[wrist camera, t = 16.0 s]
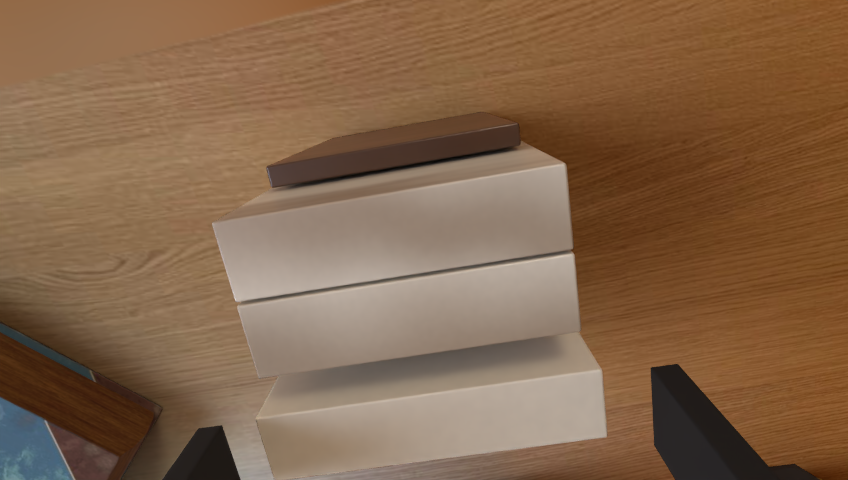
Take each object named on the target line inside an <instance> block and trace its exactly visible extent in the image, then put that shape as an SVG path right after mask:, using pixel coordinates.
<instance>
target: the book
mask: <svg viewBox="0 0 848 480" xmlns="http://www.w3.org/2000/svg"><path fill="white" fill-rule="evenodd" d="M161 410H162V408H161V407H160V406H158V405H157V404H155V403H153V402H151V401H149V400H147V399H145V398H143V397H142V396H140V395H138V394H136V393H134V392H132V391H130V390H128V389H126V388H124V387H123V386H121V385H119V384H117V383H115V382H113V381H111V380H109V379H107V378H106V377H104V376H102V375H100V374H98V373H96V372H94V371H92V370H90V369H88V368H87V367H85V366H83V365H81V364H79V363H77V362H75V361H73V360H71V359H69V358H68V357H66V356H64V355H62V354H60V353H58V352H56V351H54V350H52V349H50V348H49V347H47V346H45V345H43V344H41V343H39V342H37V341H35V340H33V339H31V338H30V337H28V336H26V335H24V334H22V333H20V332H18V331H16V330H14V329H12V328H10V327H8V326H7V325H5V324H3V323H1V322H0V480H121V479H122V477H123V476H124V474H125V472H126V471H127V469H128V467H129V465H130V464H131V462H132V460H133V459H134V457H135V455H136V453H137V452H138V450H139V448H140V447H141V445H142V443H143V441H144V440H145V438H146V436H147V435H148V433H149V431H150V429H151V428H152V426H153V424H154V423H155V421H156V419H157V417H158V415H159V414H160V412H161Z"/></svg>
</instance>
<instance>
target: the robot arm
mask: <svg viewBox="0 0 848 480" xmlns="http://www.w3.org/2000/svg"><path fill="white" fill-rule="evenodd" d="M651 383H652V405H653V427H654V446H655V447H656V449H657V451H658V452H659V454H660V455H661V457H662V459H663V460H664V462H665V464H666V465H667V467H668V468H669V470H670V472H671V473H672V475H673V477H674V478H675V480H820V479H818V478H817V477H815V476H813V475H812V474H810V473H808V472H807V471H805V470H803V469H802V468H800V467H799V466H797V465H795V464H790V465H781V466H773V467H768V465H767V464H766V463H765V462H764V461H763V460H762V459H761V458H760V456H759V455H758V454H757V453H756V452H755V451H754V450H753V448H752V447H751V446H750V445H749V444H748V443H747V442H746V441H745V439H744V438H743V437H742V436H741V435H740V434H739V433H738V432H737V430H736V429H735V428H734V427H733V426H732V425H731V424H730V423H729V421H728V420H727V419H726V418H725V417H724V416H723V415H722V414H721V412H720V411H719V410H718V409H717V408H716V407H715V406H714V404H713V403H712V402H711V401H710V400H709V399H708V398H707V397H706V395H705V394H704V393H703V392H702V391H701V390H700V389H699V388H698V386H697V385H696V384H695V383H694V382H693V381H692V380H691V379H690V377H689V376H688V375H687V374H686V373H685V372H684V371H683V370H682V368H681V367H680V366H679V365H678V364H674V365H666V366H659V367H652V368H651ZM163 480H240V477H239V474H238V471H237V468H236V465H235V462H234V459H233V457H232V454H231V451H230V448H229V445H228V442H227V439H226V436H225V433H224V430H223V427H222V426H214V427H207V428H199V429H198V430H197V431H196V433H195V434H194V436H193V437H192V438H191V440H190V441H189V443H188V444H187V446H186V447H185V448H184V450H183V451H182V453H181V454H180V455H179V457H178V458H177V460H176V461H175V463H174V464H173V465H172V467H171V468H170V470H169V471H168V472H167V474H166V475H165V477H164V478H163Z"/></svg>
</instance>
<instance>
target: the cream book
mask: <svg viewBox="0 0 848 480" xmlns="http://www.w3.org/2000/svg"><path fill="white" fill-rule="evenodd" d="M256 422H257V426H258V429H259V432H260V435H261V438H262V442H263V445H264V448H265V451H266V454H267V457H268V461H269V464H270V467H271V470H272V473H273V477H274V480H289V479H296V478H304V477H311V476H319V475H326V474H334V473H341V472H349V471H356V470H364V469H371V468H379V467H386V466H394V465H401V464H409V463H416V462H424V461H432V460H439V459H447V458H454V457H462V456H469V455H477V454H484V453H492V452H499V451H507V450H514V449H522V448H529V447H537V446H544V445H552V444H559V443H567V442H574V441H582V440H589V439H597V438H604V437H607V423H606V410H605V398H604V385H603V372H602V369H601V367H600V366H599V364H598V362H597V361H596V359H595V358H594V356H593V354H592V353H591V351H590V350H589V348H588V346H587V345H586V343H585V342H584V340H583V338H582V337H581V335H580V334H579V332H575V333H568V334H561V335H554V336H547V337H540V338H534V339H527V340H520V341H513V342H506V343H499V344H493V345H486V346H479V347H472V348H465V349H458V350H452V351H445V352H438V353H431V354H424V355H417V356H411V357H404V358H397V359H390V360H383V361H377V362H370V363H363V364H356V365H349V366H342V367H336V368H329V369H322V370H315V371H308V372H301V373H295V374H288V375H281V376H278V378H277V380H276V382H275V384H274V386H273V387H272V389H271V391H270V393H269V395H268V397H267V398H266V400H265V402H264V404H263V406H262V408H261V410H260V411H259V413H258V415H257V417H256Z"/></svg>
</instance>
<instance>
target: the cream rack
mask: <svg viewBox="0 0 848 480" xmlns="http://www.w3.org/2000/svg"><path fill="white" fill-rule="evenodd" d="M266 169H267V173H268V176H269V180H270V184H271V187H272V188H271V189H270V190H268V191H266V192H264V193H263V194H261V195H259V196H258V197H256V198H254V199H252V200H251V201H249V202H247V203H245V204H244V205H242V206H240V207H238V208H237V209H235V210H233V211H232V212H230V213H228V214H226V215H225V216H223V217H221V218H219V219H218V220H216V221H214V222H213V223H212V226H213V229H214V232H215V236H216V239H217V242H218V246H219V249H220V252H221V255H222V259H223V262H224V265H225V269H226V272H227V275H228V279H229V282H230V285H231V288H232V292H233V295H234V298H235V301H236V302H241V303H240V304H239V305H238V312H239V315H240V318H241V322H242V325H243V328H244V332H245V335H246V338H247V341H248V345H249V348H250V351H251V355H252V358H253V361H254V365H255V368H256V371H257V374H258V377H259V378H267V377H274V376H281V375H288V374H295V373H301V372H308V371H315V370H322V369H329V368H336V367H342V366H349V365H356V364H363V363H370V362H377V361H383V360H390V359H397V358H404V357H411V356H417V355H424V354H431V353H438V352H445V351H452V350H458V349H465V348H472V347H479V346H486V345H493V344H499V343H506V342H513V341H520V340H527V339H534V338H540V337H547V336H554V335H561V334H568V333H575V332H580V331H581V319H580V308H579V297H578V286H577V275H576V264H575V255H574V253H573V252H572V251H571V250H572V249H573V248H574V242H573V231H572V220H571V209H570V198H569V187H568V176H567V165H566V163H564V162H562V161H560V160H558V159H556V158H554V157H552V156H550V155H548V154H546V153H544V152H542V151H540V150H538V149H536V148H534V147H532V146H530V145H528V144H526V143H524V142H522V141H521V139H520V131H519V124H518V123H516V122H513V121H510V120H507V119H504V118H500V117H497V116H494V115H491V114H488V113H485V112H478V113H473V114H467V115H461V116H456V117H450V118H444V119H439V120H433V121H427V122H422V123H416V124H410V125H405V126H399V127H393V128H388V129H382V130H376V131H371V132H365V133H359V134H354V135H348V136H342V137H337V138H332V139H330V140H327V141H325V142H323V143H320V144H318V145H316V146H313V147H311V148H309V149H306V150H304V151H302V152H299V153H297V154H295V155H292V156H290V157H288V158H285V159H283V160H281V161H278V162H276V163H274V164H271V165H269V166H267V168H266Z"/></svg>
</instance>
